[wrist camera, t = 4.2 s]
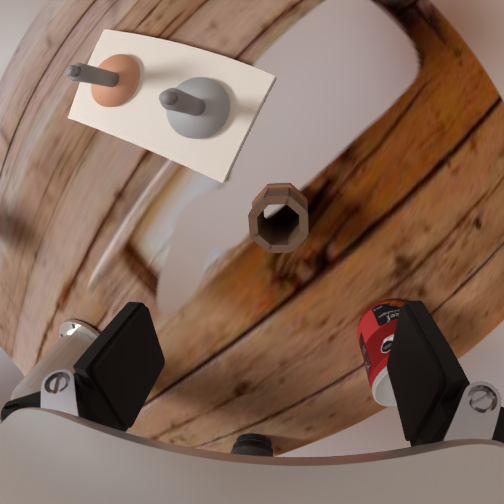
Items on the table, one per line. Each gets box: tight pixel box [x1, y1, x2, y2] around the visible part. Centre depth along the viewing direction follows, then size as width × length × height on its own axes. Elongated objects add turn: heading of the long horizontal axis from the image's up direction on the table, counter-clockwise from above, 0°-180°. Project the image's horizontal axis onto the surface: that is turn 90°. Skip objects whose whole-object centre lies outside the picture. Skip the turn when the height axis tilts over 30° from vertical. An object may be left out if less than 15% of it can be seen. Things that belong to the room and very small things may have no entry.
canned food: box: [357, 299, 405, 407], centre depth 28 cm, size 8×8×11 cm
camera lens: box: [231, 434, 273, 457], centre depth 39 cm, size 8×8×15 cm
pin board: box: [66, 29, 276, 183], centre depth 22 cm, size 22×12×10 cm, turn 65°
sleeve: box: [248, 183, 308, 253], centre depth 27 cm, size 6×6×6 cm
